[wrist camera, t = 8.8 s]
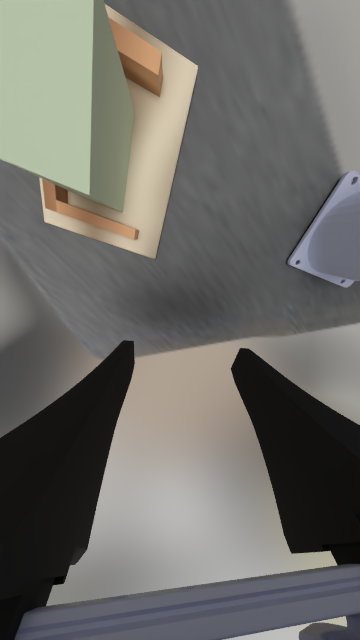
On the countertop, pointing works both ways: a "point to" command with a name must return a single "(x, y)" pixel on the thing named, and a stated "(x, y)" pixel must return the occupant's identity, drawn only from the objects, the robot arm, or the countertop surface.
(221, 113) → the countertop surface
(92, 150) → the chute block
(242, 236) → the countertop surface
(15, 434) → the robot arm
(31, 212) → the countertop surface
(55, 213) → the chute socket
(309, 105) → the countertop surface
